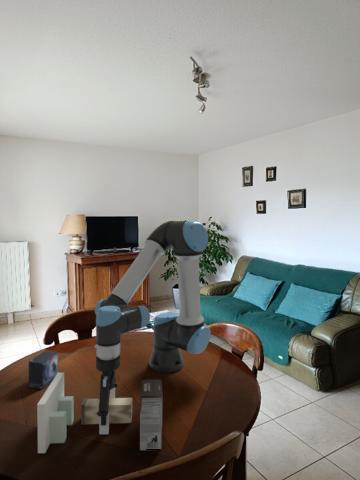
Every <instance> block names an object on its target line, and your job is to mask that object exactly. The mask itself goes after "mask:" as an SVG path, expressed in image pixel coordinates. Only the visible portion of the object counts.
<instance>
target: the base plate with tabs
mask: <svg viewBox="0 0 360 480" xmlns="http://www.w3.org/2000/svg"><path fill="white" fill-rule="evenodd" d="M74 401H75V400H74V396H73V395H71V396H69V395H68V396H67V395H66V396H65V372H58V373H57V375H56V376H55V378H54V380H53V381H52V382H51V383H49V386H48V387H47V389H46V390H45V392H44V393H43V394H42V396H41V398H40V400H39V401H38V403H37V404H36V407H37V408H36V409H37V413H36V414H37V422H36V423H37V454H46V452H47V450H48V449H49V446H50V445H51V444H64V443H66V440H67V428H68V427H67V426H72V425H73V423H74V420H75V419H74V415H75V413H74V411H75V410H74V409H75V408H74V406H75V404H74V403H75V402H74Z"/></svg>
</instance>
